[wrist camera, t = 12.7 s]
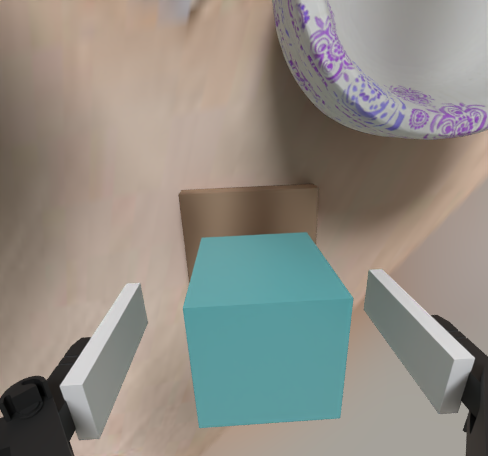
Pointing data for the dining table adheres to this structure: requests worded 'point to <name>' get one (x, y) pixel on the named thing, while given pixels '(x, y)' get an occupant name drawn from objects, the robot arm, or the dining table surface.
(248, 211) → the post stand
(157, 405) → the dining table surface
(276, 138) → the dining table surface
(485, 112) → the paper bowls
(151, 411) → the dining table surface
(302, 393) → the teal rectangular prism
